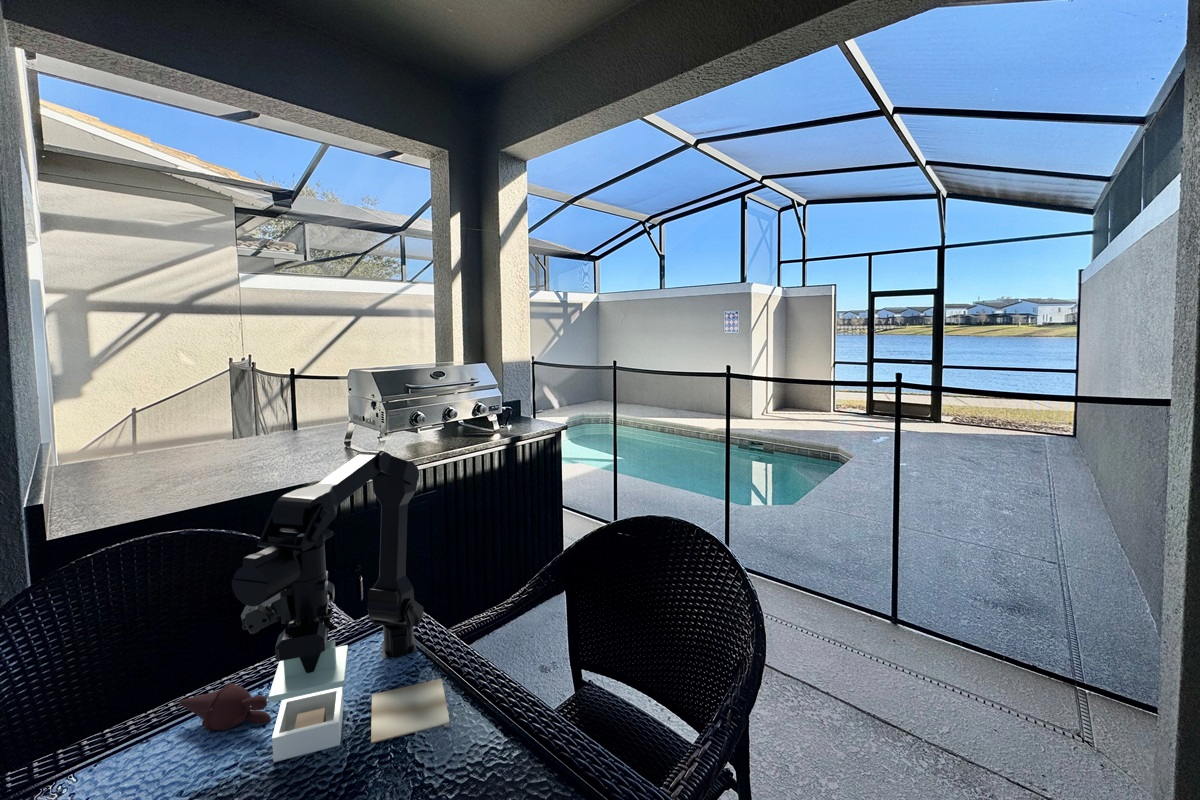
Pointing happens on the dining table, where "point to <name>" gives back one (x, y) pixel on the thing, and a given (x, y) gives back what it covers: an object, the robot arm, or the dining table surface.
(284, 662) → the lid
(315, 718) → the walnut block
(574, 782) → the dining table surface
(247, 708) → the brown gnome figurine
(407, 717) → the board
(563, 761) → the dining table surface
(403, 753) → the dining table surface
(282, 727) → the box
